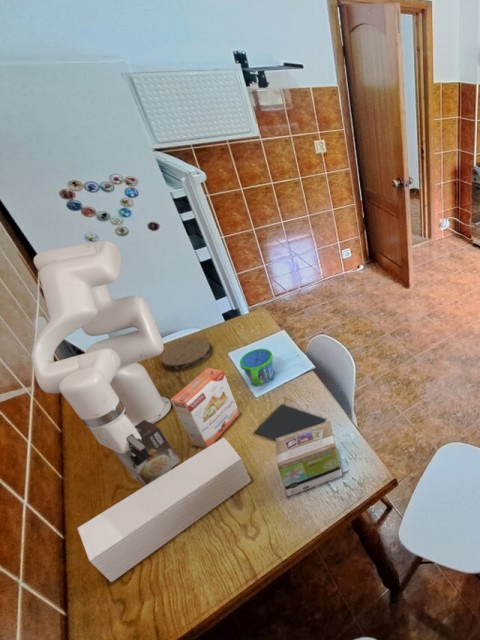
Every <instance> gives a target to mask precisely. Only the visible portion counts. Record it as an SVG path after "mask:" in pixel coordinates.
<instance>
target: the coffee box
mask: <svg viewBox="0 0 480 640" xmlns="http://www.w3.org/2000/svg"><path fill="white" fill-rule="evenodd" d="M135 428H136V430H137V431H138V433H139V434H140V436H141V441H139V442H140V443H142V444H143V445H144V446H145V449H146V451H147V452H148V454H149V455H150V456H149V458H147V459H146V460H145V461H144V462H143V463H141V464H140V465H139V466H137V465H135V463H134V462H133V460H132V459H131V458H130V456H131V455H130V454H129V453H128V452H126V453H123V454H121V453H118V452H116V451H113V453H114V454H115V456H116V455H117V456H116V457H117V458H118V459H119V461H120V462H121V463H122V465H123V466H124V468H125V469H126V470H127V471H128V472H129V474H130V475H131V476H132V478H133V479H134V480H136V482H139V483H140V484H142V485H143V486H146V485H148V484H149V483H151V482H152V481H154V480H156V479H157V478H159V477H161V476H162V475H164V474H165V473H167V472H169V471H170V470H172V469H173V468H175V467H176V465H178V464H179V463H180V462H181V459H180V458H179V457H178V455H177V453H176V452H175V451H174V449H173V447H172V446H171V444H170V443H169V441H168V439H167V438H166V436H165V434H164V433H163V431H162V430H161V428H160V427H159V426H157V425H156V424H155V423H153V424H152V423H151V422H147V421H146V420H143V421H142V422H140V423H139V424H138V425H136V426H135ZM129 445H130V443H129ZM130 449H131V450H132V451H133V452H134V451H135V450H136V448H135V447H134V446H133V447H132V448H130Z"/></svg>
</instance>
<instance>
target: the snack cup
mask: <svg viewBox="0 0 480 640" xmlns="http://www.w3.org/2000/svg"><path fill="white" fill-rule="evenodd" d="M273 359H274V356H273V352H272V351H271V350H270V349H266V348H257V349H253V350H251V351H248V352H247V353H245V354H243V355H242V357H241V359H240V360H239V367H240V369H241V370H243V371H244V373H245V374H246V376H247V377H248V378H249V380H250V382H251V383H252V385H253V386H254V387H258V386H261V385H263V384H266V383H268V382H269V381H270V380H272V379H273V376H274V366H273V365H274V364H273Z"/></svg>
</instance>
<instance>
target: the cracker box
mask: <svg viewBox="0 0 480 640" xmlns="http://www.w3.org/2000/svg"><path fill="white" fill-rule="evenodd" d="M169 400H170V402H171V406H172V407H173V408H174V410H175V412H176V415H177V416H178V418H179V420H180V423H181V425H182V426H183V428H184V430H185V432H186V434H187V436H188V437H189V440H190V442H191V443H192V445H193V446H194V447H199V448H203V449H206V448H207V447H209V446H211V445H212V444H214V443H215V442H217V441H218V439H219V438H220V437H221V435H222V434H223V433H224V432H225V431H226V430H227V429H228V428H229V427H230V426H231V425H232V424H233V423H234V421H235V420H236V419H237V418H238V417H240V415H241V413H240V410H239V408H238V405H237V403H236V400H235V397H234V395H233V393H232V390H231V387H230V385H229V382H228V380H227V377H226V374H225V371H224V370H222V369H218V368H217V369H216V368H212V367H207V368H205V369H204V370H203V371H202V372H201V373H200V374H198V376H196V377H195V378H194V379H193V380H191V381H190V382H189V383H188V384H187V385H186V386H185V387H183V388H182V389H181V390H180V391H179V392H178V393H176V394H175V395H174V396H173V397H172V398H170V399H169Z"/></svg>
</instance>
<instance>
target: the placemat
mask: <svg viewBox="0 0 480 640" xmlns="http://www.w3.org/2000/svg"><path fill="white" fill-rule="evenodd" d="M324 422H326V419H325V418H322V417H319V416H317V415H314V414H312V413H308V412H306V411H303V410H302V411H301V410H298V409H296V408H293V407H290V406H287V405H285V404H280V406H278V407H277V409H276V410H274V412H273V413H271V415H269V417H268V418H267V419H266V420H265V421H264V422H263V423H262V424H261V425H260V426H259V427H258V428H257V429H256V430H255V431H254V433H255V434H258V435H261V436H263V437H266V438H269V439H271V440H274V441H276V440H275V439H276V438H278V437H282V436H285V435H288V434H291V433H294V432H297V431H300V430H303V429H306V428H309V427H312V426H315V425H318V424H321V423H324Z"/></svg>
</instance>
